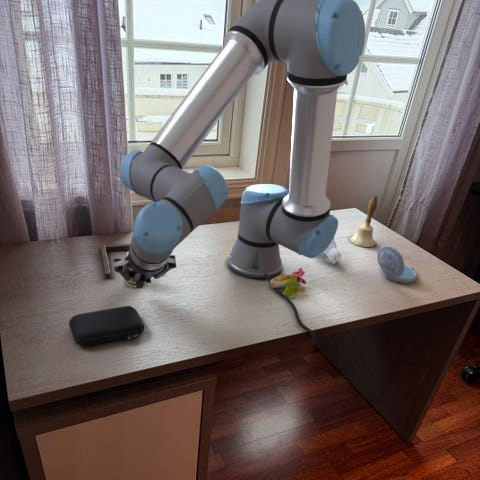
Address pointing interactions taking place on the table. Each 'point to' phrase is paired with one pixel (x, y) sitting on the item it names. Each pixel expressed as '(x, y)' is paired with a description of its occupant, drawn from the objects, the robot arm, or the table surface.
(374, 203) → the hand bell
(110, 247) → the bay
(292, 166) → the robot arm
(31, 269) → the table surface
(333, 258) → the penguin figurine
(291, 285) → the bird rattle
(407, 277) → the pocket watch
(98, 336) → the carrying case
